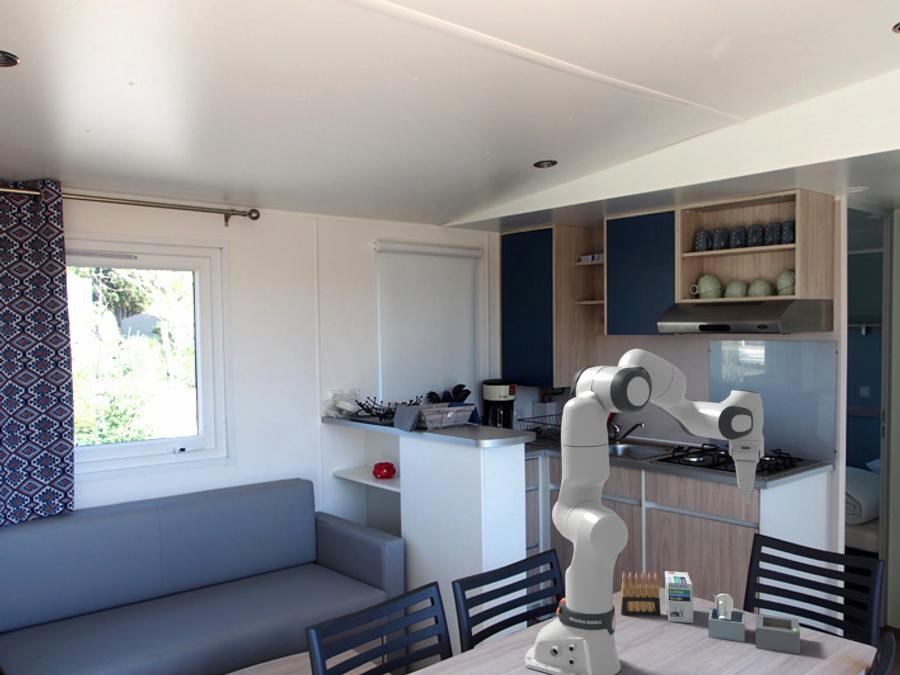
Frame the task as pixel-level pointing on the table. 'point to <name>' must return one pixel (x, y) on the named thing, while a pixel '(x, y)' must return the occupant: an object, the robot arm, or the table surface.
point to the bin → (727, 626)
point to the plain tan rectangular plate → (777, 627)
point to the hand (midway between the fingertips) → (747, 500)
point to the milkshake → (724, 606)
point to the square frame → (777, 634)
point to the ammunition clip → (640, 596)
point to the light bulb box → (679, 597)
